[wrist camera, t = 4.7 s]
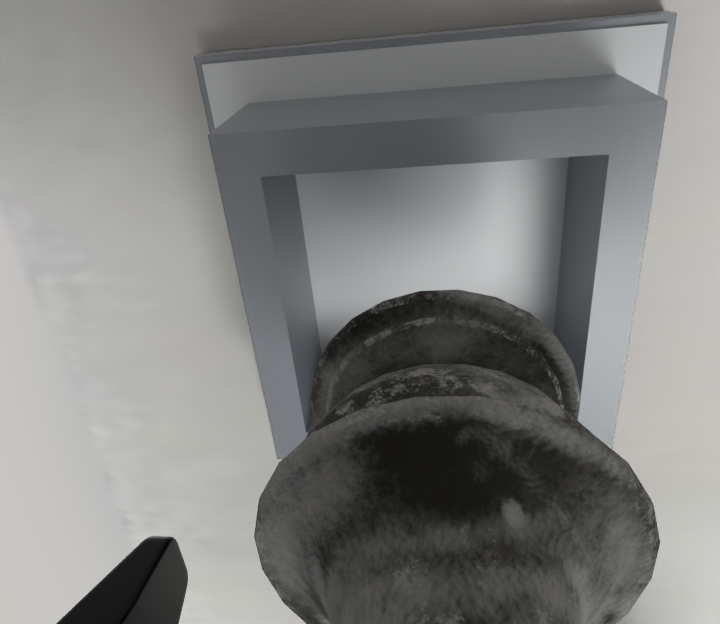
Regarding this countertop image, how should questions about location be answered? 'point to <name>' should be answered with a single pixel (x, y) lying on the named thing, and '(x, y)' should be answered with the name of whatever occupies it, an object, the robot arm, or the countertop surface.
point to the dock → (441, 186)
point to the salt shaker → (453, 479)
